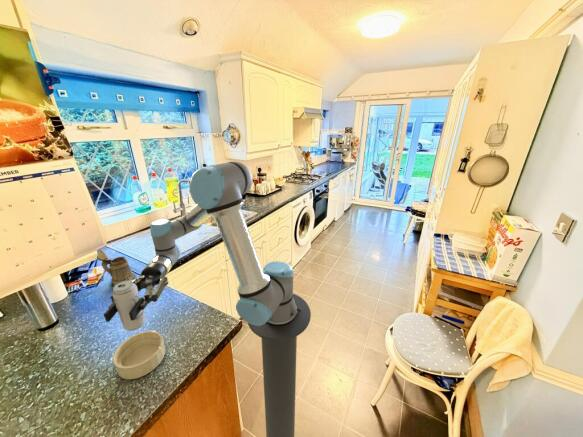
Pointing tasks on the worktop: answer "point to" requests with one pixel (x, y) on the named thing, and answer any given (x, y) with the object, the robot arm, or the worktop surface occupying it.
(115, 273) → the wooden mug
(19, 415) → the worktop surface
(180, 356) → the worktop surface
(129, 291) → the energy drink can
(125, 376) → the bowl
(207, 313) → the worktop surface
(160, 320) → the worktop surface
